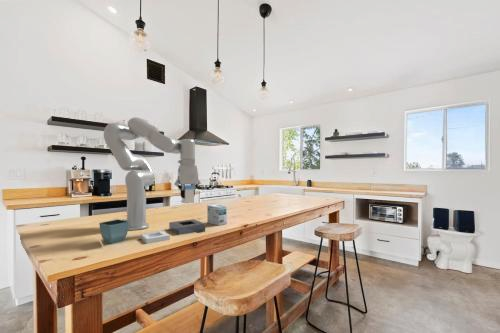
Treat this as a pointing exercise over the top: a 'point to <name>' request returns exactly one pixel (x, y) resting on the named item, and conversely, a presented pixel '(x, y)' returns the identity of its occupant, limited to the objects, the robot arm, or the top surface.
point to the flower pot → (114, 230)
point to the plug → (188, 194)
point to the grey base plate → (155, 237)
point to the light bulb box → (217, 214)
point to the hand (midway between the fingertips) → (187, 197)
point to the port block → (187, 226)
